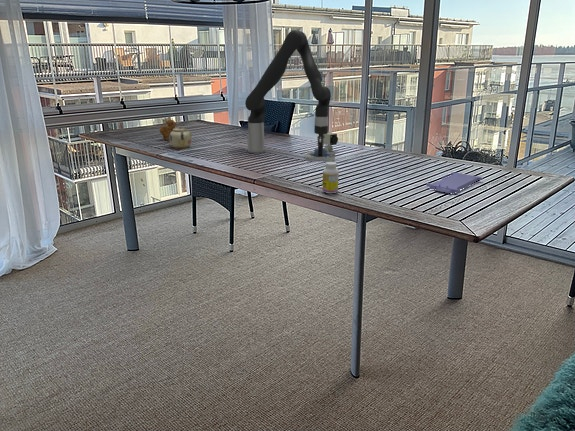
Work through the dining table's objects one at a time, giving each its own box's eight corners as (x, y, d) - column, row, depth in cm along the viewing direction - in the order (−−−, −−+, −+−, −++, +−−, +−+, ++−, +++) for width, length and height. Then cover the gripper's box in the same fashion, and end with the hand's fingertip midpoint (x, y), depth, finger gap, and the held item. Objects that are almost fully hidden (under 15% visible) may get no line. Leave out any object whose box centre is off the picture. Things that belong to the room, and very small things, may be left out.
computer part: (422, 190, 203) (456, 197, 194) (423, 181, 202) (457, 187, 193) (451, 177, 224) (482, 183, 215) (452, 168, 223) (484, 174, 214)
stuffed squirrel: (183, 139, 315) (182, 119, 311) (168, 142, 304) (167, 122, 300) (172, 137, 320) (171, 118, 316) (157, 141, 309) (155, 121, 304)
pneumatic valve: (332, 153, 273) (332, 133, 269) (319, 150, 282) (319, 130, 278) (339, 152, 276) (339, 132, 272) (326, 149, 285) (326, 129, 281)
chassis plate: (305, 160, 256) (305, 156, 255) (307, 154, 270) (307, 151, 269) (334, 161, 254) (334, 157, 253) (335, 155, 268) (335, 152, 267)
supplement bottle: (321, 190, 202) (322, 161, 197) (336, 190, 202) (337, 161, 198) (323, 194, 195) (324, 164, 191) (339, 194, 196) (340, 164, 192)
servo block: (310, 158, 261) (310, 149, 259) (311, 156, 265) (311, 148, 263) (330, 159, 259) (330, 150, 258) (330, 157, 263) (330, 148, 262)
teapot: (164, 147, 291) (161, 125, 286) (182, 143, 300) (181, 123, 295) (181, 151, 277) (179, 129, 273) (200, 148, 286) (198, 126, 282)
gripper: (315, 122, 263) (314, 152, 269) (313, 126, 249) (312, 157, 255) (328, 122, 262) (327, 152, 268) (327, 126, 249) (326, 157, 254)
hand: (320, 154), depth 261 cm, fingers open, 5 cm apart
